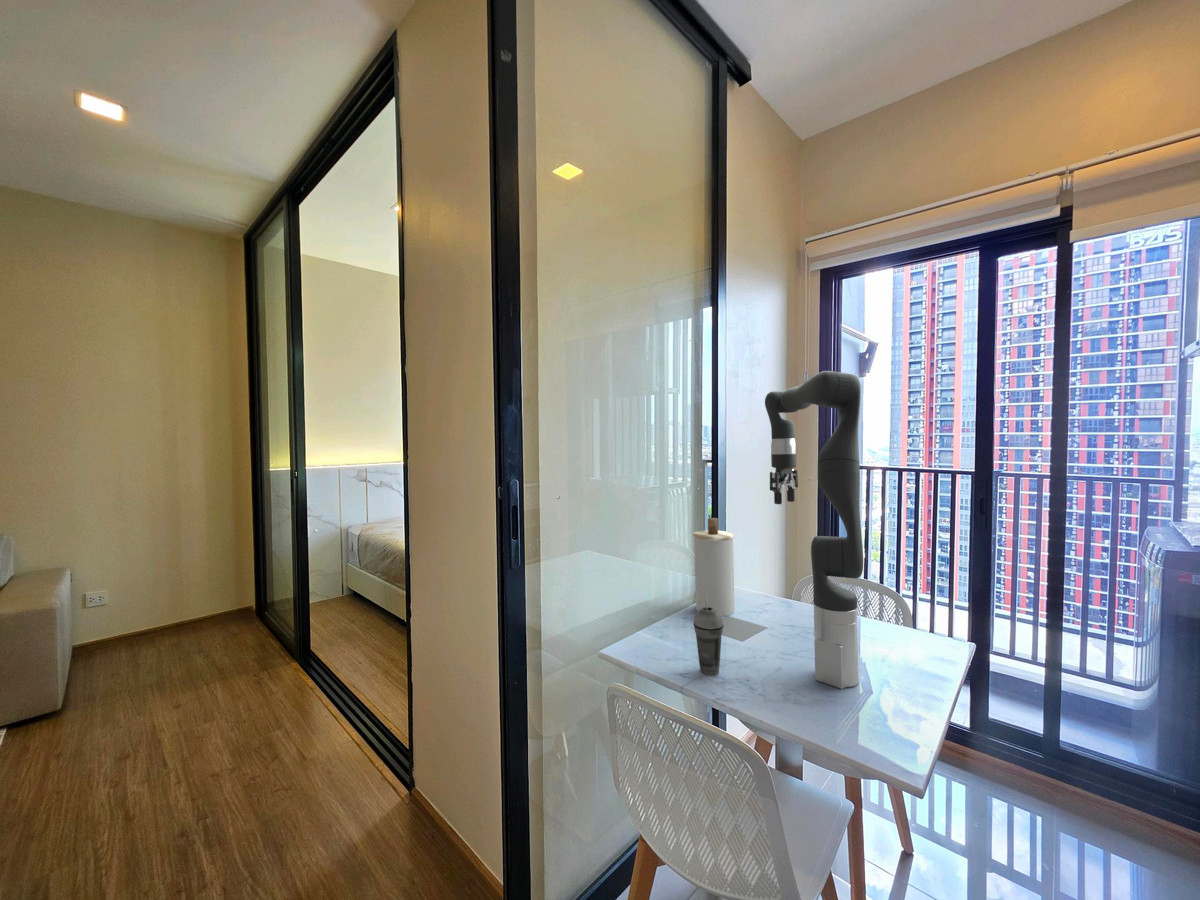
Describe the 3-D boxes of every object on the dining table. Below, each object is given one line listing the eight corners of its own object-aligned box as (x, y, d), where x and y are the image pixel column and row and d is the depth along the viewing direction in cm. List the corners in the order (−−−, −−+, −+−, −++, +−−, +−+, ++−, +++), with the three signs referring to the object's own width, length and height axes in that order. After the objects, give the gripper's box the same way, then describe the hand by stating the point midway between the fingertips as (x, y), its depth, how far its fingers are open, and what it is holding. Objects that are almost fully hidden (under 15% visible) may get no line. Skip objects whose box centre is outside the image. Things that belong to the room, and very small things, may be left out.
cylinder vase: (711, 602, 167) (709, 531, 167) (742, 611, 157) (740, 536, 157) (688, 611, 159) (686, 536, 159) (719, 621, 149) (717, 542, 149)
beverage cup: (703, 680, 112) (700, 596, 112) (689, 667, 119) (687, 587, 119) (730, 675, 114) (728, 592, 114) (715, 662, 121) (713, 584, 121)
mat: (742, 643, 132) (742, 641, 132) (701, 629, 143) (701, 627, 143) (768, 629, 142) (768, 627, 142) (727, 617, 152) (727, 615, 152)
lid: (718, 542, 149) (717, 523, 149) (685, 537, 158) (684, 519, 158) (741, 536, 157) (740, 518, 157) (708, 531, 167) (708, 514, 167)
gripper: (783, 453, 146) (785, 506, 146) (804, 452, 155) (806, 501, 156) (761, 453, 151) (762, 504, 152) (783, 452, 161) (784, 500, 161)
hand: (784, 502), depth 154 cm, fingers open, 8 cm apart
